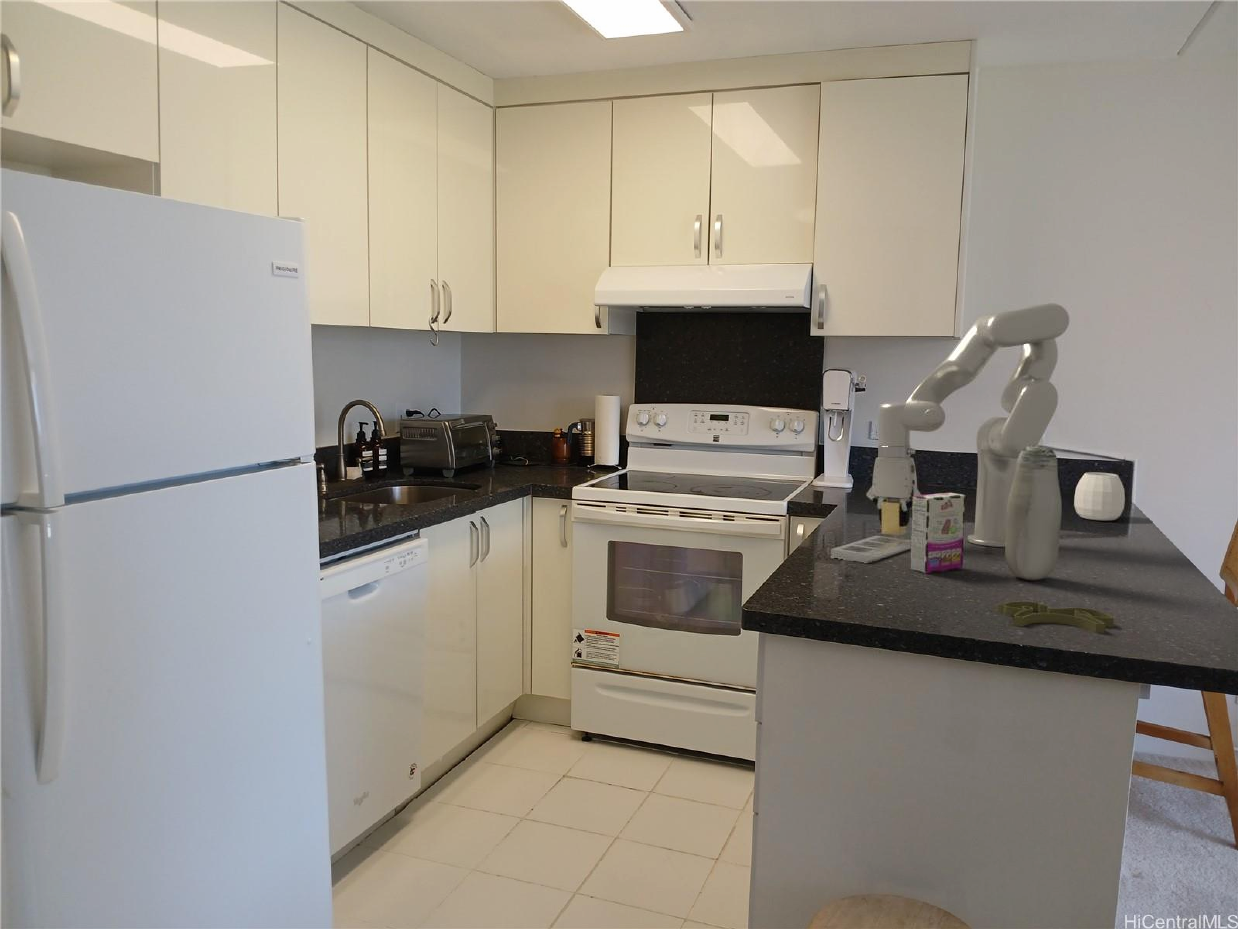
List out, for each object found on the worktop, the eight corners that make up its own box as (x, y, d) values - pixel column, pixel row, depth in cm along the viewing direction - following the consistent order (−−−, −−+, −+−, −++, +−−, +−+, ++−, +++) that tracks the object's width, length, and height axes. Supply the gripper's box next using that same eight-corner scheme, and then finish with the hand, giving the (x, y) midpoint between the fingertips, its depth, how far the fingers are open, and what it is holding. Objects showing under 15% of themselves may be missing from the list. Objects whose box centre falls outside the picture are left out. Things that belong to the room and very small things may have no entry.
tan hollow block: (906, 532, 230) (906, 499, 229) (898, 535, 226) (898, 501, 225) (889, 530, 232) (889, 498, 232) (881, 533, 229) (881, 500, 228)
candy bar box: (945, 565, 203) (949, 492, 202) (963, 569, 199) (967, 494, 197) (908, 569, 198) (911, 494, 196) (925, 574, 194) (929, 497, 192)
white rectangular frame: (910, 548, 222) (911, 540, 221) (867, 563, 203) (867, 554, 203) (875, 543, 227) (876, 535, 227) (830, 557, 209) (830, 549, 209)
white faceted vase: (1075, 521, 267) (1078, 475, 265) (1071, 514, 279) (1074, 470, 277) (1126, 524, 262) (1129, 477, 260) (1120, 517, 274) (1123, 473, 272)
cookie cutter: (1001, 627, 156) (1002, 615, 156) (995, 609, 167) (995, 599, 167) (1119, 637, 151) (1119, 625, 150) (1104, 618, 162) (1105, 607, 162)
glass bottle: (1053, 586, 184) (1062, 448, 181) (999, 580, 189) (1007, 445, 186) (1059, 577, 192) (1068, 445, 189) (1007, 571, 198) (1015, 442, 195)
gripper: (933, 452, 225) (933, 525, 227) (868, 450, 235) (869, 520, 237) (921, 455, 219) (921, 530, 221) (855, 452, 230) (856, 524, 232)
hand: (894, 524), depth 229 cm, fingers closed on tan hollow block, 4 cm apart
